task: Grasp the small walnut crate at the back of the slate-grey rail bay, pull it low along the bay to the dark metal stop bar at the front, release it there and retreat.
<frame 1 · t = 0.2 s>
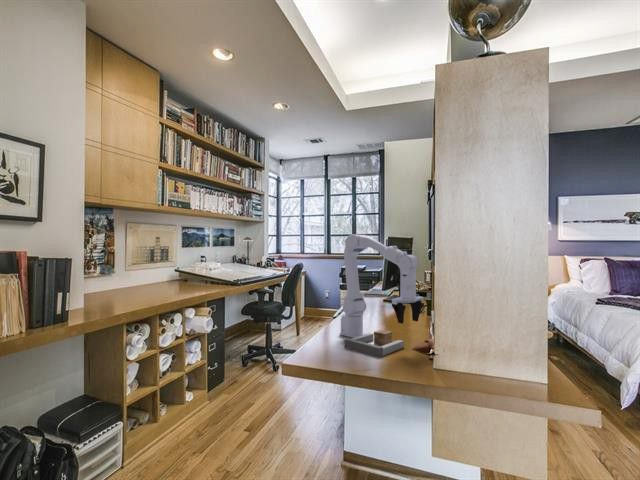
hand: (408, 322, 121), 10 cm above the table, fingers open, 7 cm apart
bay: (375, 346, 121), on the table
sunglasses case: (432, 349, 121), on the table
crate: (382, 344, 125), on the table
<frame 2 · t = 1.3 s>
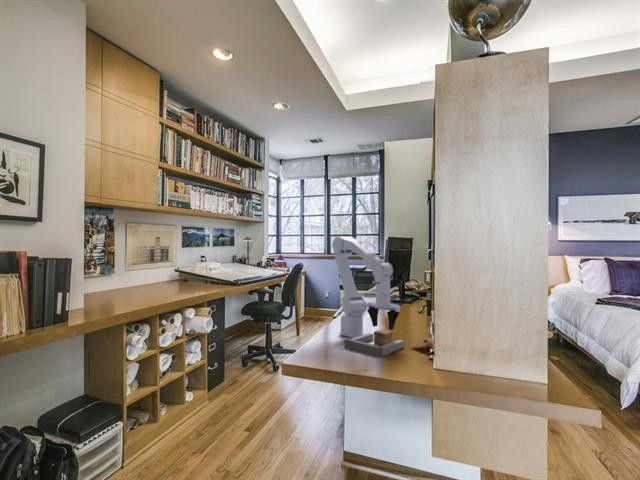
hand: (383, 327, 125), 6 cm above the table, fingers open, 7 cm apart
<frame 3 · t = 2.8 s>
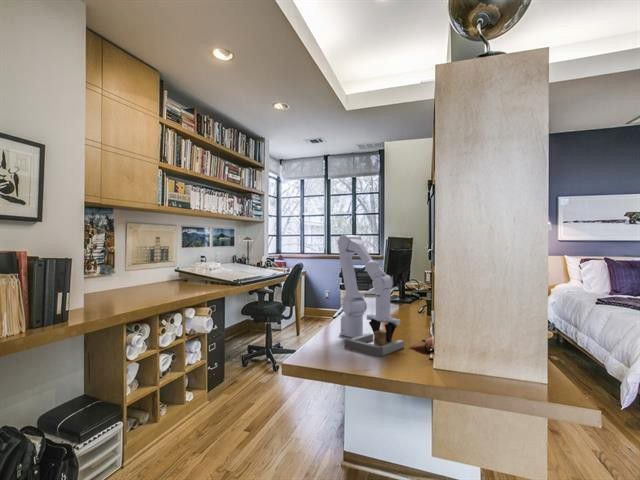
hand: (382, 340, 125), 1 cm above the table, fingers closed on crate, 5 cm apart
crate: (382, 344, 125), on the table, touching gripper
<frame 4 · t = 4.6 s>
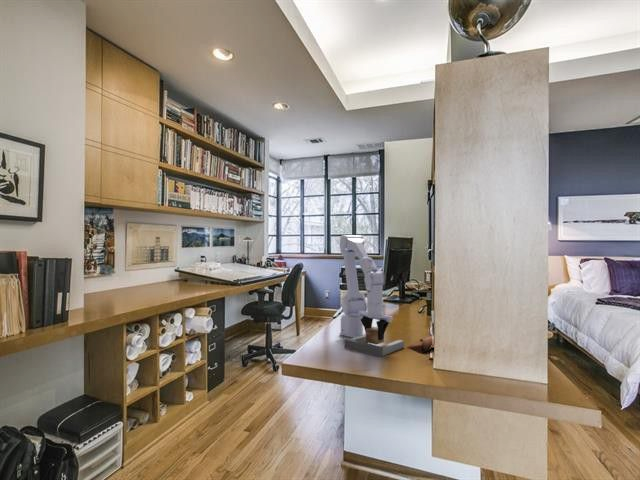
hand: (374, 338, 121), 3 cm above the table, fingers closed on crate, 5 cm apart
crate: (374, 342, 121), point 2 cm above the table, touching gripper
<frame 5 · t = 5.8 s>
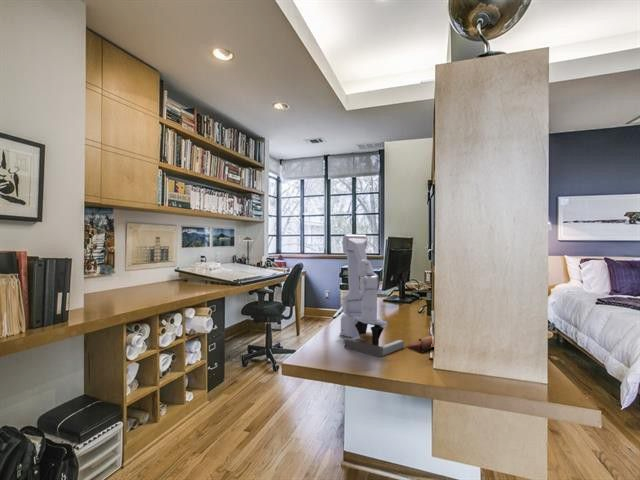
hand: (369, 343, 119), 2 cm above the table, fingers closed on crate, 5 cm apart
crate: (369, 347, 119), on the table, touching gripper
when the fingers open (2 cm above the table, at t = 6.6 s): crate stays where it is, on the table.
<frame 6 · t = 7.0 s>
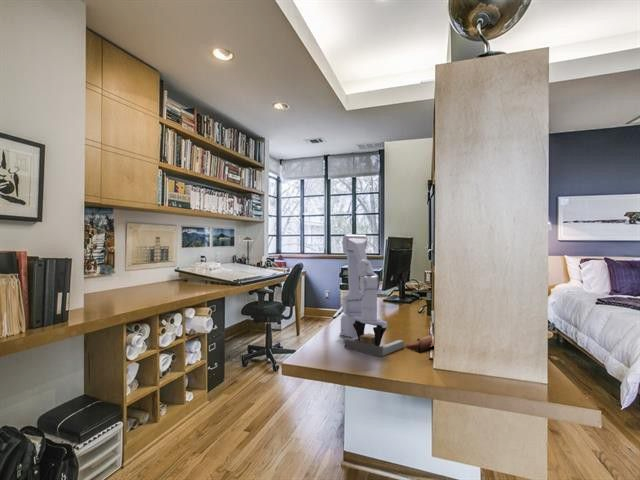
hand: (369, 343, 119), 2 cm above the table, fingers open, 7 cm apart
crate: (369, 349, 119), on the table
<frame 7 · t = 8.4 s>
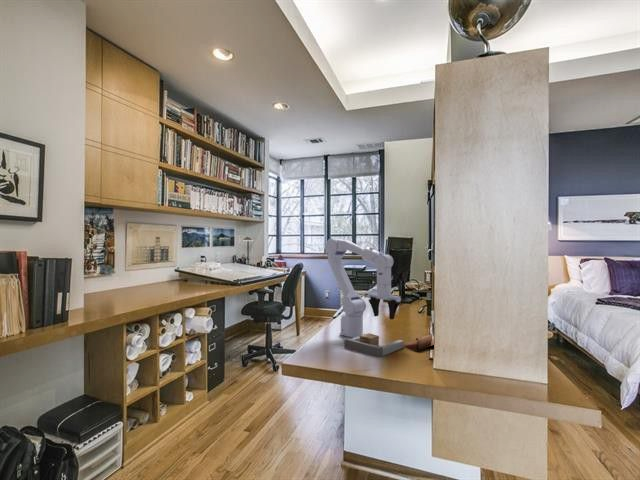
hand: (383, 317, 129), 10 cm above the table, fingers open, 7 cm apart
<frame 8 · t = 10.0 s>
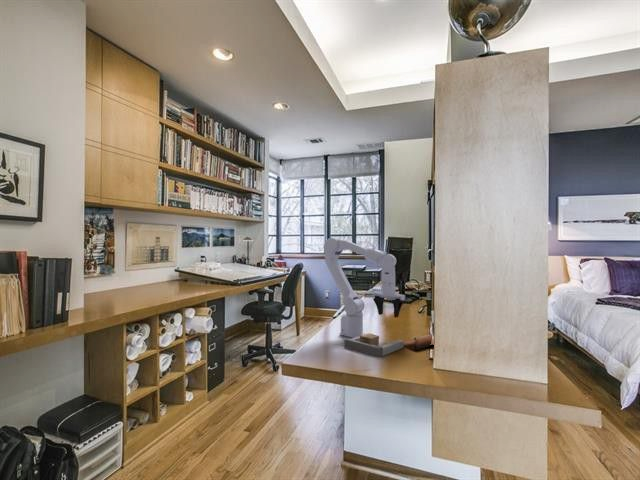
hand: (388, 315, 132), 10 cm above the table, fingers open, 7 cm apart
at the end: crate inside the target area (0.0 cm from its centre), on the table; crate tilted 0°; the gripper is holding nothing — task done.
